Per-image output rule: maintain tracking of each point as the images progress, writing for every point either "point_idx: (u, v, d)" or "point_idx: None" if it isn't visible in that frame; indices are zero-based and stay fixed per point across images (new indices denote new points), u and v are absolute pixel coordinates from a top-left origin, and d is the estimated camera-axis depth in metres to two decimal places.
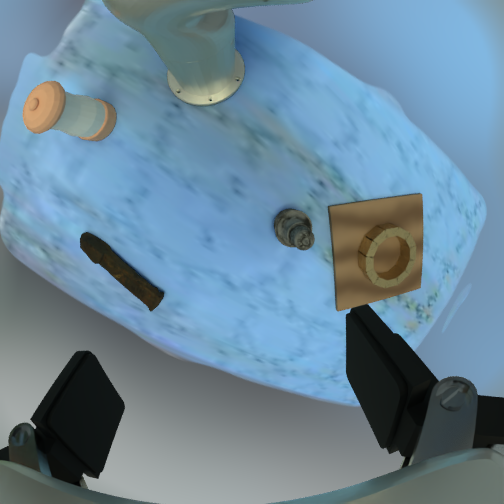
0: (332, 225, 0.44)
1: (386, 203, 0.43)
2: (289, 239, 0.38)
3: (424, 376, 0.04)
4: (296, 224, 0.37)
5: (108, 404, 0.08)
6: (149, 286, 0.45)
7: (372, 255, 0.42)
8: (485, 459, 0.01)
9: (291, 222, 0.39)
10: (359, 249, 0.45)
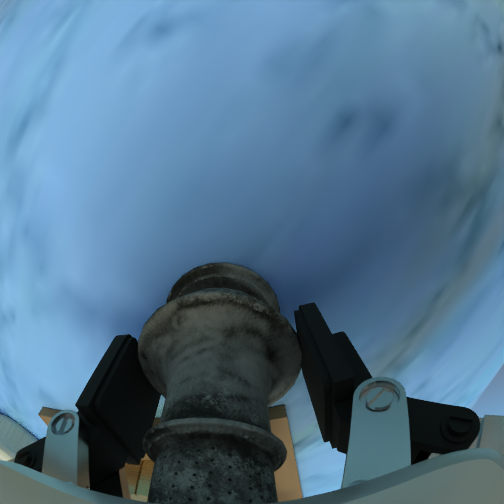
0: None
1: (289, 483, 0.17)
2: (177, 434, 0.05)
3: (348, 373, 0.05)
4: (276, 451, 0.05)
5: (148, 388, 0.09)
6: None
7: None
8: (485, 459, 0.01)
9: (259, 383, 0.07)
10: None
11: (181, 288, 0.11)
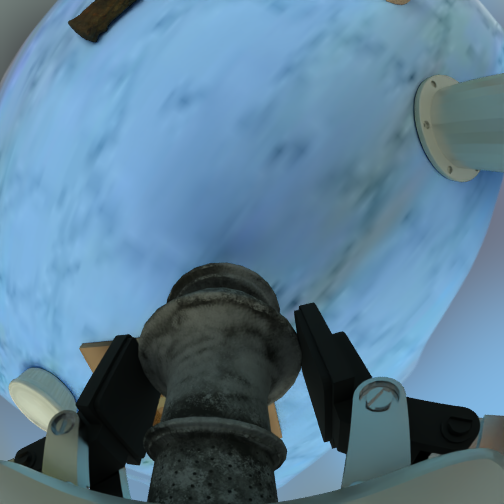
0: None
1: None
2: (177, 433, 0.05)
3: (348, 373, 0.05)
4: (276, 450, 0.05)
5: (148, 388, 0.09)
6: (110, 15, 0.14)
7: None
8: (485, 459, 0.01)
9: (259, 383, 0.07)
10: None
11: (181, 288, 0.11)
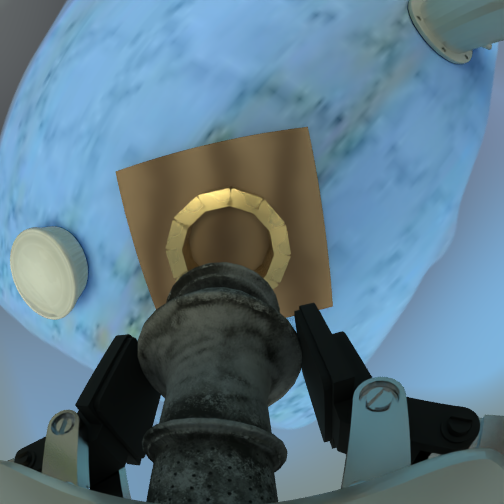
0: (276, 132, 0.24)
1: (317, 235, 0.28)
2: (176, 434, 0.04)
3: (348, 373, 0.05)
4: (276, 452, 0.05)
5: (148, 388, 0.09)
6: None
7: (233, 203, 0.23)
8: (485, 459, 0.01)
9: (259, 384, 0.07)
10: (235, 187, 0.25)
11: (181, 288, 0.11)
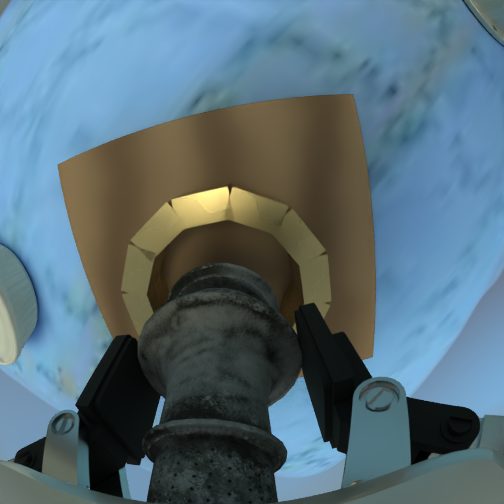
0: (306, 98, 0.14)
1: (364, 262, 0.17)
2: (176, 435, 0.04)
3: (348, 373, 0.05)
4: (276, 452, 0.05)
5: (148, 388, 0.09)
6: None
7: (234, 214, 0.12)
8: (485, 459, 0.01)
9: (259, 384, 0.07)
10: (238, 185, 0.15)
11: (180, 288, 0.11)
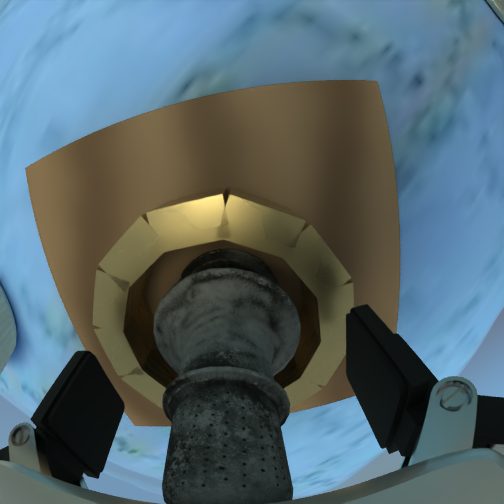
0: (321, 83, 0.11)
1: (387, 283, 0.14)
2: (196, 382, 0.06)
3: (424, 376, 0.04)
4: (281, 401, 0.06)
5: (108, 404, 0.08)
6: None
7: (232, 232, 0.09)
8: (485, 459, 0.01)
9: (264, 347, 0.08)
10: (237, 190, 0.12)
11: (190, 272, 0.13)
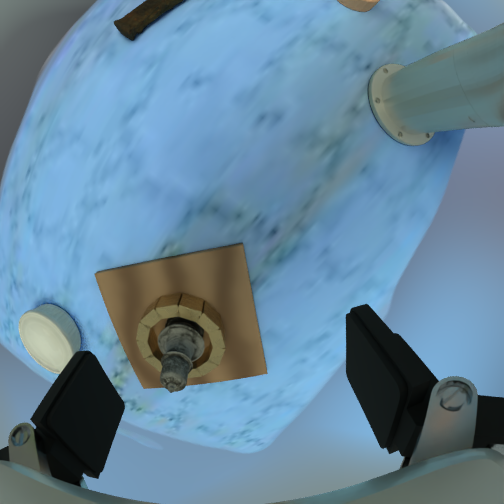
0: (216, 250, 0.32)
1: (251, 326, 0.35)
2: (168, 354, 0.27)
3: (424, 376, 0.04)
4: (189, 361, 0.27)
5: (108, 404, 0.08)
6: (146, 21, 0.22)
7: (180, 314, 0.30)
8: (485, 459, 0.01)
9: (188, 347, 0.29)
10: (184, 294, 0.32)
11: (170, 320, 0.33)
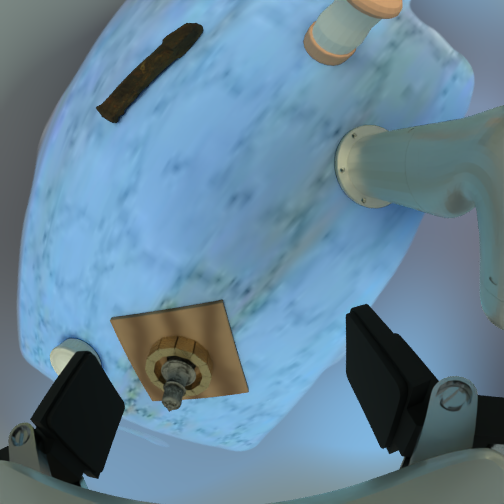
0: (202, 307, 0.40)
1: (233, 359, 0.43)
2: (168, 383, 0.35)
3: (424, 376, 0.04)
4: (183, 388, 0.36)
5: (108, 404, 0.08)
6: (126, 105, 0.30)
7: (177, 354, 0.39)
8: (485, 459, 0.01)
9: (183, 377, 0.38)
10: (180, 337, 0.41)
11: None
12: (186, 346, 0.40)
